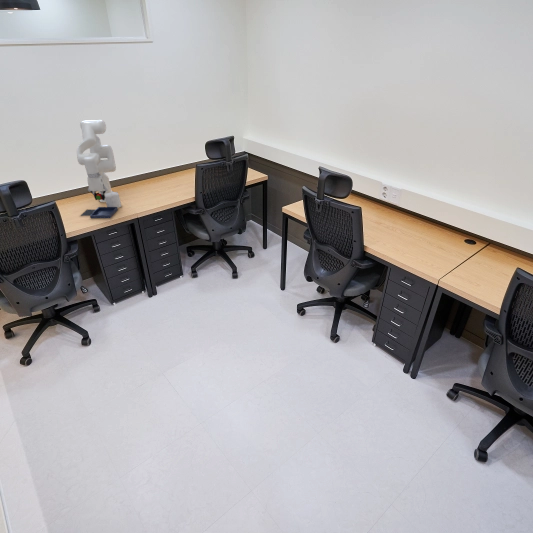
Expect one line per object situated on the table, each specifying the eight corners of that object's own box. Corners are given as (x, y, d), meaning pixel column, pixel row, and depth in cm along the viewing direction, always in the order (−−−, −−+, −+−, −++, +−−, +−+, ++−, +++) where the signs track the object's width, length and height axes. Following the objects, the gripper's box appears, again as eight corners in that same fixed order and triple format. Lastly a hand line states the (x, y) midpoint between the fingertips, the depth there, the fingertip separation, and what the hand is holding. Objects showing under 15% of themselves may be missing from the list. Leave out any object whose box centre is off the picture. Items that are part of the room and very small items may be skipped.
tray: (99, 210, 268) (98, 206, 267) (118, 210, 268) (117, 207, 267) (90, 218, 256) (89, 215, 254) (110, 218, 255) (109, 215, 254)
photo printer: (120, 205, 276) (117, 190, 269) (122, 207, 273) (118, 192, 266) (107, 208, 271) (103, 193, 264) (108, 210, 268) (104, 194, 261)
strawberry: (100, 197, 259) (98, 191, 257) (105, 197, 259) (104, 191, 257) (95, 201, 253) (94, 195, 250) (101, 201, 253) (99, 195, 250)
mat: (87, 210, 268) (87, 209, 268) (96, 210, 268) (96, 209, 268) (80, 216, 259) (80, 215, 259) (90, 216, 259) (89, 215, 259)
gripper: (107, 173, 248) (113, 197, 258) (83, 172, 248) (91, 197, 258) (103, 177, 242) (109, 201, 252) (79, 176, 242) (86, 201, 252)
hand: (100, 199), depth 255 cm, fingers closed on strawberry, 4 cm apart
